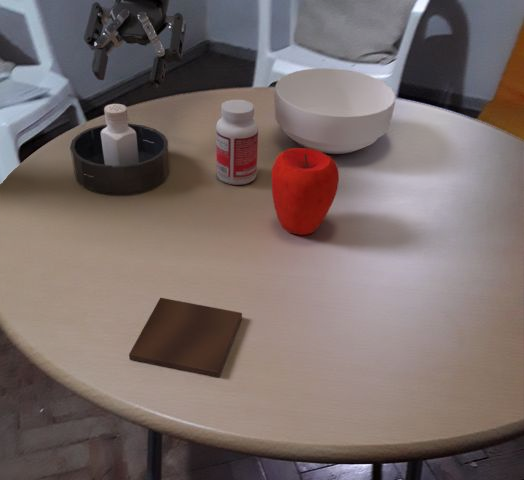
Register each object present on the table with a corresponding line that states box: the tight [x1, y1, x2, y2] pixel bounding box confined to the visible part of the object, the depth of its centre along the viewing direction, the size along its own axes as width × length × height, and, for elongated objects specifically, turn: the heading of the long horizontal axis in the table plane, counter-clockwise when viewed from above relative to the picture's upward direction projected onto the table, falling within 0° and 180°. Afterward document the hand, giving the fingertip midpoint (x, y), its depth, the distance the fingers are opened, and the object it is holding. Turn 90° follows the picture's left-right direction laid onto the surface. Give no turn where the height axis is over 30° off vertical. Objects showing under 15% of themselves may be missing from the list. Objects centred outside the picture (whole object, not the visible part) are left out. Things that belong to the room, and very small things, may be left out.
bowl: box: [274, 67, 397, 155], centre depth 105 cm, size 20×20×8 cm
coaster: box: [128, 297, 243, 378], centre depth 70 cm, size 10×10×1 cm
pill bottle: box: [215, 99, 259, 186], centre depth 93 cm, size 6×6×11 cm
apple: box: [271, 147, 340, 236], centre depth 84 cm, size 9×9×11 cm
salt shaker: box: [101, 103, 139, 165], centre depth 93 cm, size 4×4×10 cm
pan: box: [69, 122, 170, 196], centre depth 95 cm, size 14×14×4 cm
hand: (126, 81), depth 92 cm, fingers open, 8 cm apart
